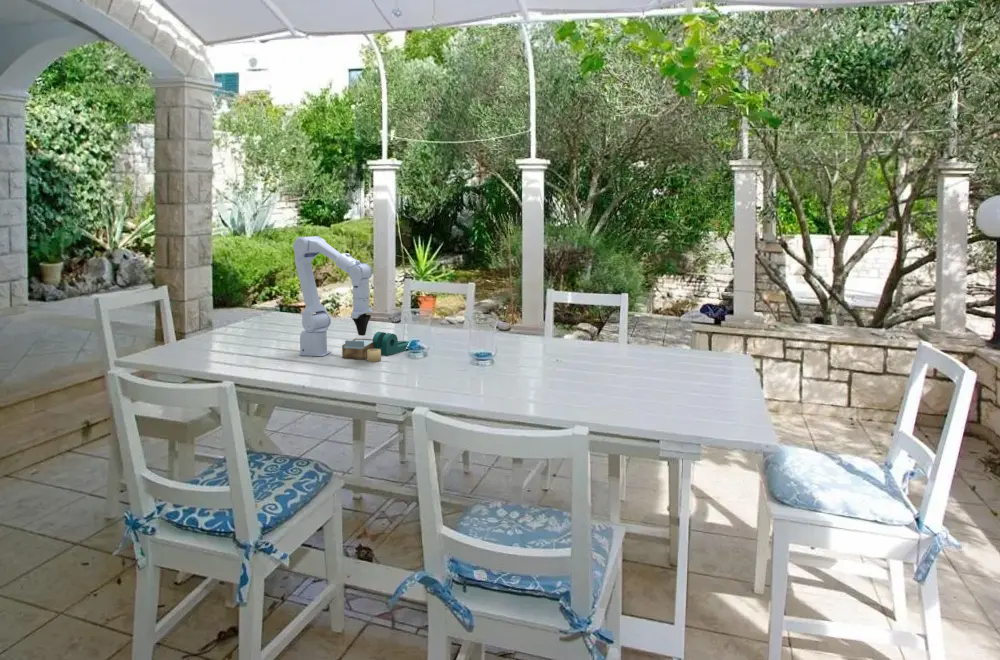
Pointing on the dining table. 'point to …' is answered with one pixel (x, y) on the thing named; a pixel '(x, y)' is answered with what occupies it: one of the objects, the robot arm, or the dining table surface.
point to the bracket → (388, 343)
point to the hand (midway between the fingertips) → (361, 335)
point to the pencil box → (356, 351)
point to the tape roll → (373, 355)
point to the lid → (357, 344)
